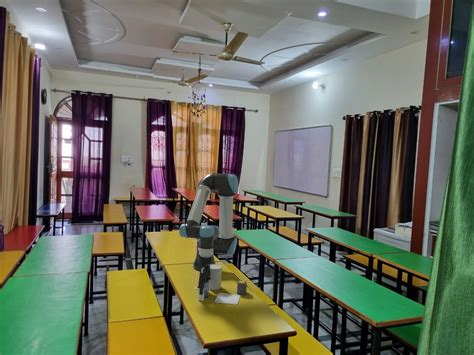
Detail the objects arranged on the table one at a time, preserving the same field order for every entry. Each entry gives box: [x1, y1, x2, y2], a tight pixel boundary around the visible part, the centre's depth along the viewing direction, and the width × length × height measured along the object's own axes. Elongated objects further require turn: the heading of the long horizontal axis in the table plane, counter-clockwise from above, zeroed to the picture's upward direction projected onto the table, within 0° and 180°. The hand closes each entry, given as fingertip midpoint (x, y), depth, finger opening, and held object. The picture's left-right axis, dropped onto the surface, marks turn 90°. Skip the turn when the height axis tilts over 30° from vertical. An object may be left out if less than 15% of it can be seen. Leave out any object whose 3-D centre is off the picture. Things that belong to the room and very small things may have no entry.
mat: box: [213, 292, 242, 306], centre depth 179 cm, size 12×12×1 cm
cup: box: [209, 264, 223, 291], centre depth 194 cm, size 8×8×12 cm
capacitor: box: [204, 279, 210, 299], centre depth 181 cm, size 5×5×8 cm
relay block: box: [236, 280, 248, 296], centre depth 188 cm, size 5×5×6 cm
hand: (203, 295), depth 181 cm, fingers open, 11 cm apart
